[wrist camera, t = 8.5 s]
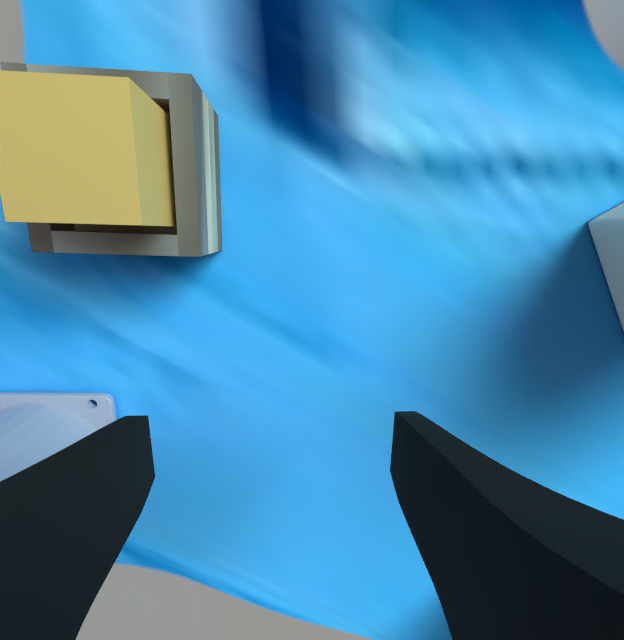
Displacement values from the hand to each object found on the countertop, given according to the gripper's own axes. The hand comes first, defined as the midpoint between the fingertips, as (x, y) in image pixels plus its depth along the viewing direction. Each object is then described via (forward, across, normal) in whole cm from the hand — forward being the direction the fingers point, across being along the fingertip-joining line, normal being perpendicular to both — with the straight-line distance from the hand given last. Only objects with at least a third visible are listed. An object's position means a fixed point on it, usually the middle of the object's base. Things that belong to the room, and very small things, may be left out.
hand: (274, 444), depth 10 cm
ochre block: (+6, +6, -8) cm, 12 cm away
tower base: (+9, +6, -8) cm, 14 cm away
